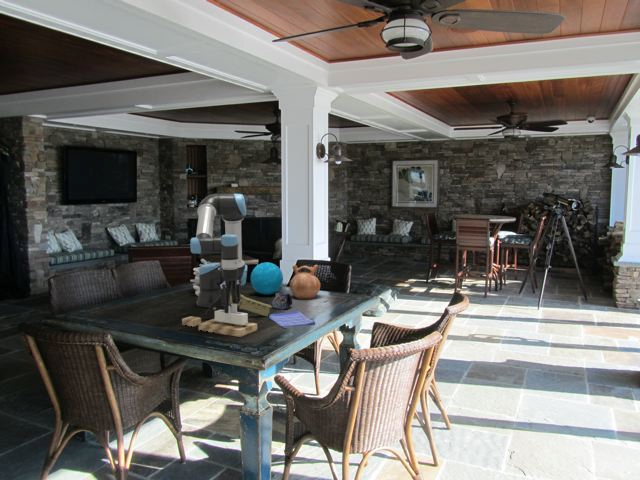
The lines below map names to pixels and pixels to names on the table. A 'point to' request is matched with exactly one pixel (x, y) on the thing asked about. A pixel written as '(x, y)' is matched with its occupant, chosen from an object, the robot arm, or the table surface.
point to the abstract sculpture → (198, 277)
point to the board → (227, 328)
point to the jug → (304, 283)
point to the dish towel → (291, 319)
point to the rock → (282, 301)
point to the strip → (232, 318)
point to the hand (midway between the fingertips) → (231, 318)
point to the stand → (191, 321)
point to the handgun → (242, 305)
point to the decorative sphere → (266, 278)
